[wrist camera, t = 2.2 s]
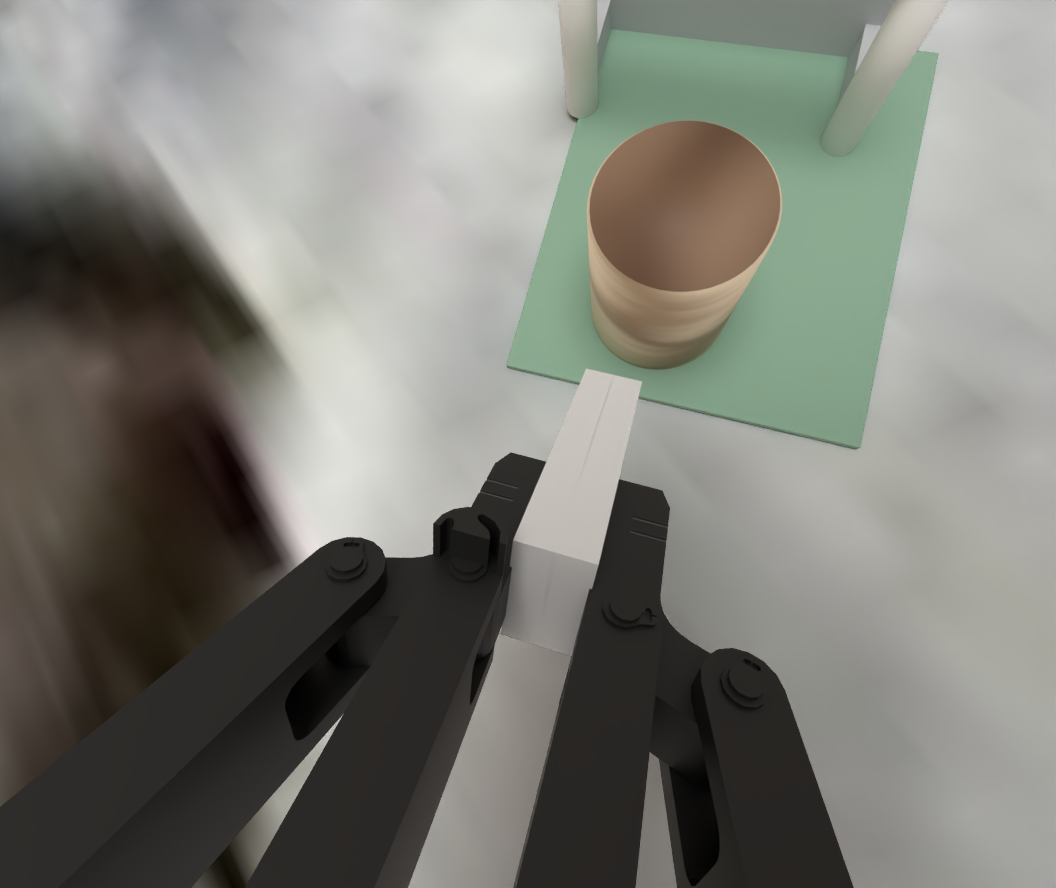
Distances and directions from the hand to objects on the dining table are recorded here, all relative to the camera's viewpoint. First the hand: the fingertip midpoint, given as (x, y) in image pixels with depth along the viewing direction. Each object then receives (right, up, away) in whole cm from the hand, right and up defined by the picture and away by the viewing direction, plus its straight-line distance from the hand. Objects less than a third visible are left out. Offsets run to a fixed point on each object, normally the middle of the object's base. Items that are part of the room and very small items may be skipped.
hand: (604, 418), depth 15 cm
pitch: (+8, +12, +15) cm, 21 cm away
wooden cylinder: (+5, +7, +14) cm, 16 cm away
